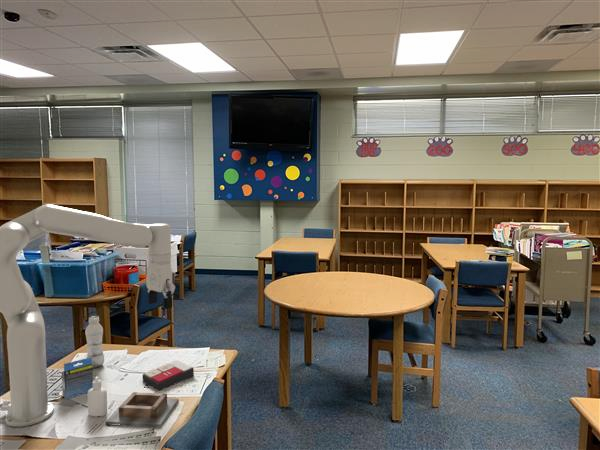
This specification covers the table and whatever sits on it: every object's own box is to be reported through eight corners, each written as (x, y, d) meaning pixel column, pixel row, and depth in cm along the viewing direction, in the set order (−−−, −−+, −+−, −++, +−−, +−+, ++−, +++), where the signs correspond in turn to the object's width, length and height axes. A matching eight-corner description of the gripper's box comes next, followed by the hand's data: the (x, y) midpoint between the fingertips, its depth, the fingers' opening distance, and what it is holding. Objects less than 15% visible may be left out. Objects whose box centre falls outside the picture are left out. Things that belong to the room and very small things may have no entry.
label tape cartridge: (90, 387, 146) (89, 353, 145) (93, 391, 143) (92, 356, 142) (62, 395, 140) (60, 360, 139) (65, 399, 137) (63, 364, 136)
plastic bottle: (107, 362, 167) (106, 314, 165) (99, 370, 160) (98, 320, 158) (91, 362, 166) (89, 314, 165) (83, 370, 160) (81, 319, 158)
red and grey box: (141, 372, 151) (176, 358, 162) (142, 383, 151) (177, 368, 163) (158, 382, 144) (193, 366, 155) (159, 393, 144) (194, 376, 156)
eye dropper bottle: (100, 407, 133) (99, 372, 131) (108, 414, 129) (107, 377, 128) (86, 413, 129) (85, 376, 128) (94, 420, 126) (93, 382, 125)
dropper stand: (105, 424, 123) (104, 411, 123) (129, 399, 138) (128, 387, 138) (160, 427, 122) (160, 414, 122) (178, 401, 137) (178, 390, 137)
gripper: (137, 256, 148) (137, 303, 150) (163, 262, 137) (164, 312, 139) (156, 254, 154) (156, 299, 155) (183, 260, 143) (183, 308, 144)
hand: (160, 305), depth 147 cm, fingers open, 9 cm apart
